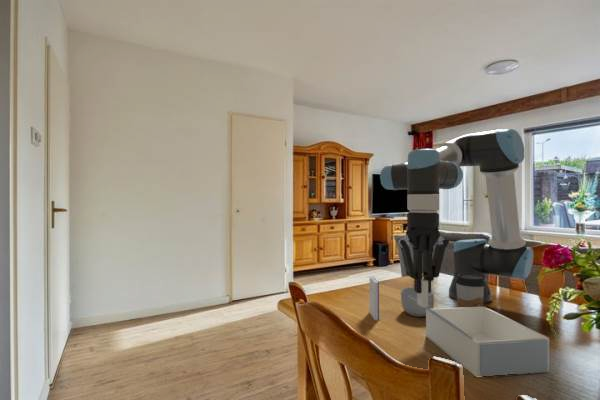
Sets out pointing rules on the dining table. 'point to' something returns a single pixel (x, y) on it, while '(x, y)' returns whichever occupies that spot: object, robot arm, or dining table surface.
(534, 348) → the carton
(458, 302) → the coffee cup
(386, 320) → the dining table surface
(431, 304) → the teacup
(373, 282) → the hard drive
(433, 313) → the flap
